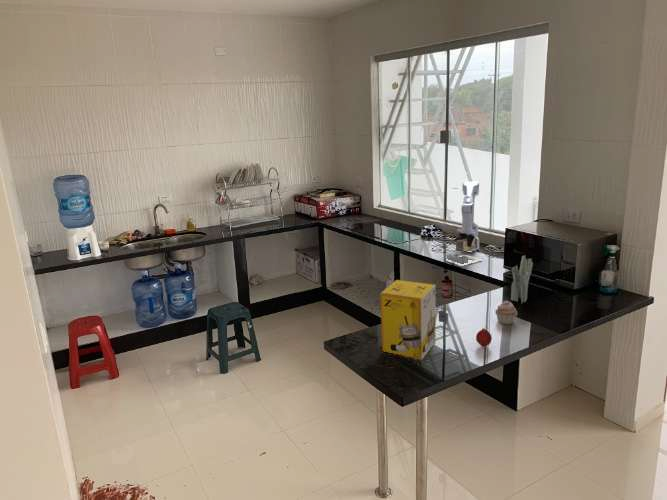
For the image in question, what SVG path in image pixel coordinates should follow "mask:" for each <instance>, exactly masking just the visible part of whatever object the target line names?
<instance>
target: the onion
mask: <svg viewBox="0 0 667 500" xmlns="http://www.w3.org/2000/svg"><path fill="white" fill-rule="evenodd" d="M492 339H493V337H492V334H491V333H490V331H488V329H486V328H485V327H482V329H481V330H479V331H478V332H477V334H476V336H475V341H476V343H478V345H479V346H481V347H482V348H485V347H487V346H489V345H490V344H491V342H492Z"/></svg>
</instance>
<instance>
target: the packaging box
mask: <svg viewBox="0 0 667 500" xmlns="http://www.w3.org/2000/svg"><path fill="white" fill-rule="evenodd" d="M436 290H437V289H436V284H433V283H424V282H417V281H411V280H410V281H409V280H402V279H401V280H400V279H396V280H395V281H394V282H392V283H391V284H389V286H388V287H386V288H384V290H383V291H382V292H380V295H379V296H380V320H381V321H380V323H381V343H382V344H381V347H382V351H384V352H388V353H393V354H398V355H403V356H407V357H412V358H417V359H423V358H424V359H425V357H426V356H427V355H428V353H429V352H430V351H431V349H432V348H433V347H434V345H435V344H436V343H435V342H436V341H437V340H436V339H437V338H436V337H437V333H436V330H437V326H436V323H437V322H436V317H437V316H436V313H437V312H436V309H437V308H436V307H437V306H436V299H437V298H436V296H437V295H436ZM434 343H435V344H434ZM433 344H434V345H433ZM432 346H433V347H432ZM431 347H432V348H431ZM430 348H431V349H430ZM429 350H430V351H429ZM428 351H429V352H428ZM427 352H428V353H427ZM426 354H427V355H426ZM425 355H426V356H425ZM424 356H425V357H424ZM424 359H423V360H424Z"/></svg>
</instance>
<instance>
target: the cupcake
mask: <svg viewBox="0 0 667 500" xmlns="http://www.w3.org/2000/svg"><path fill="white" fill-rule="evenodd" d="M495 315H496V316H497V317H496V318H497V322H498V323H499V324H501V325H506V326H507V325H508V326H510V325H512V324H514V322H515V319H516V317H517V316H518V311H517V309H516V308H515V306H514V304H513V303H512V302H511V301H509V300H504V301H502V303H501V304H499V305H498V306H497V308H496V309H495Z"/></svg>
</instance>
